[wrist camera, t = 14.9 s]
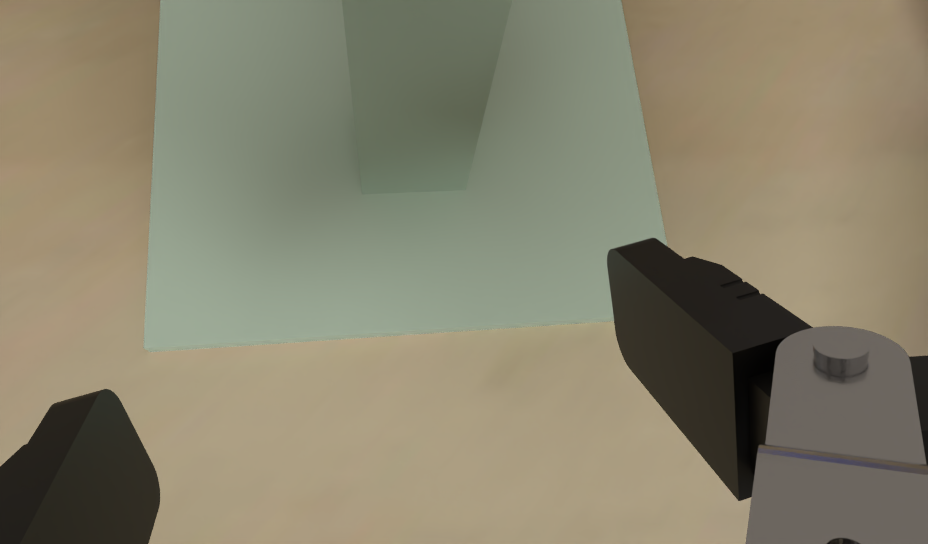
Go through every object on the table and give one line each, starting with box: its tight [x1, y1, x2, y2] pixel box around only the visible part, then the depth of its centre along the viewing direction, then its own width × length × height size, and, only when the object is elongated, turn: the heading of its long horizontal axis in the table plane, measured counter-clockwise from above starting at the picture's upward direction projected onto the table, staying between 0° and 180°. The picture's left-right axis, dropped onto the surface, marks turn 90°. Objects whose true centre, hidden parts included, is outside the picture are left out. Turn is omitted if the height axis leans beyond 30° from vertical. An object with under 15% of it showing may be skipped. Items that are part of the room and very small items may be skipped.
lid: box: [144, 0, 667, 352], centre depth 19 cm, size 17×13×11 cm
